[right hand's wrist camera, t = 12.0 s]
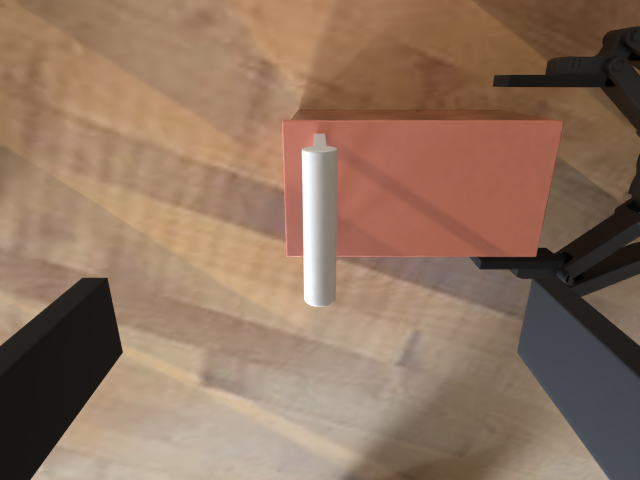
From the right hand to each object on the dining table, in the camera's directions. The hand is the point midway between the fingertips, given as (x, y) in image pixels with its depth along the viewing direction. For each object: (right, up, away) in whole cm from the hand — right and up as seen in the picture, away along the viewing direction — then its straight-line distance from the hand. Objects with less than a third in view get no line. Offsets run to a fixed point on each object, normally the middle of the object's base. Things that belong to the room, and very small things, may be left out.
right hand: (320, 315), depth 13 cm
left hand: (+13, +7, +18) cm, 24 cm away
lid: (+6, +6, +15) cm, 17 cm away
